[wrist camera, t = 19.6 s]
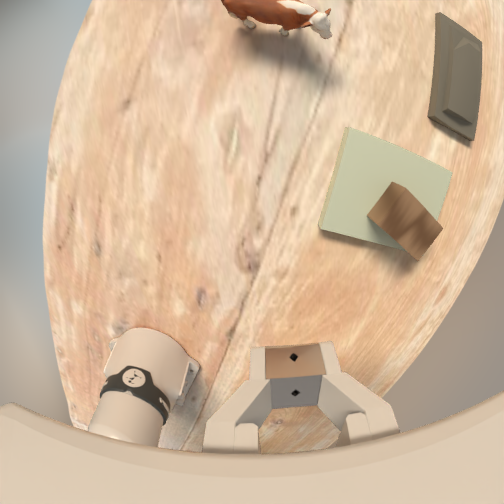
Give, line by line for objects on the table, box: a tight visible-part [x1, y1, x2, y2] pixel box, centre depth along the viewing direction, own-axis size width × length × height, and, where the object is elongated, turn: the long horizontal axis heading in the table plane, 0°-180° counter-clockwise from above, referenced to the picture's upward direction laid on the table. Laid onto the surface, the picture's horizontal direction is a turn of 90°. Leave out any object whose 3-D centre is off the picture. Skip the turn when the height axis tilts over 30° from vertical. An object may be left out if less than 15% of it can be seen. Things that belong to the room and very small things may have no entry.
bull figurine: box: [221, 0, 332, 39], centre depth 23 cm, size 4×13×8 cm, turn 68°
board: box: [318, 127, 452, 255], centre depth 35 cm, size 14×18×2 cm
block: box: [367, 182, 443, 261], centre depth 33 cm, size 6×4×9 cm
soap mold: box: [428, 13, 482, 141], centre depth 26 cm, size 10×20×4 cm, turn 169°
